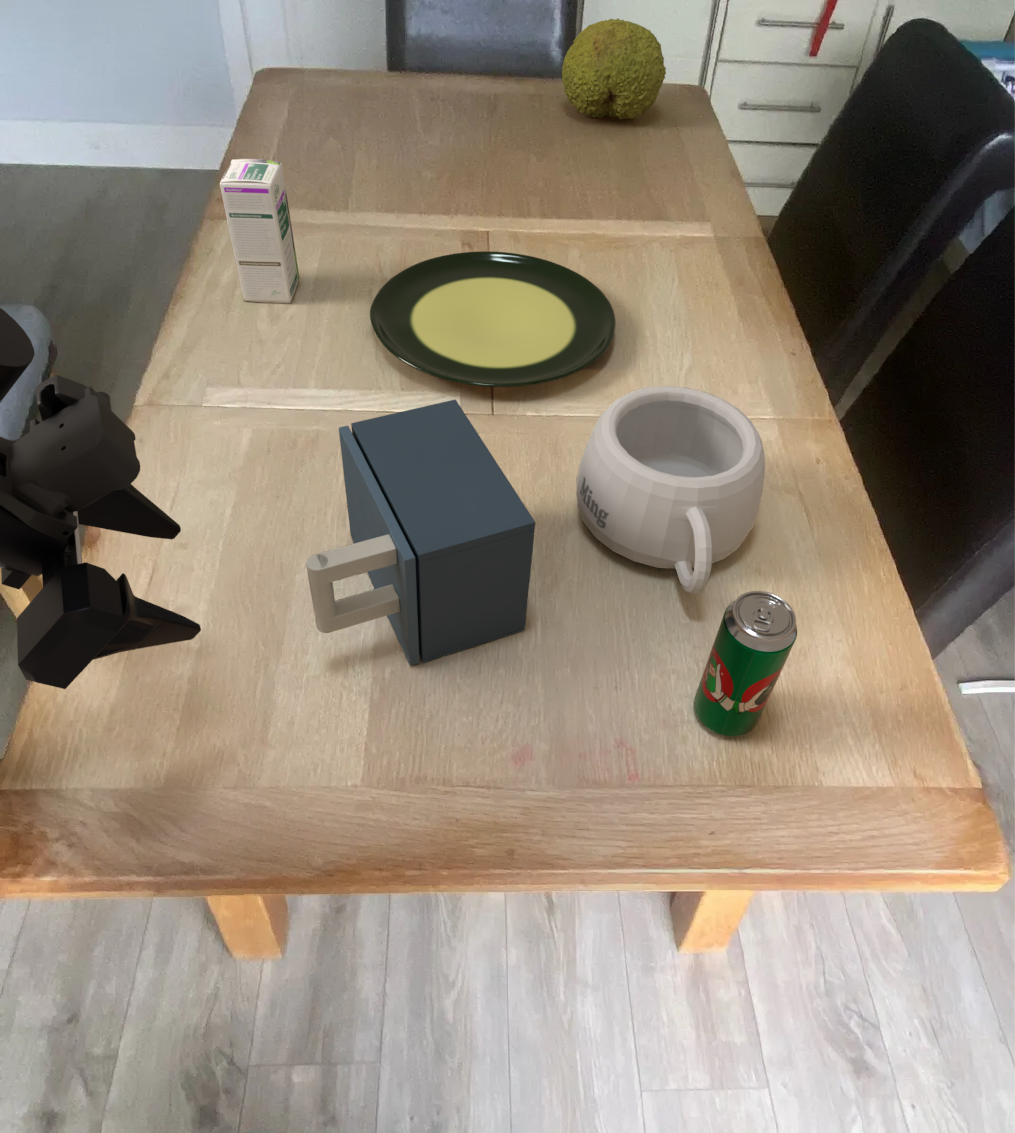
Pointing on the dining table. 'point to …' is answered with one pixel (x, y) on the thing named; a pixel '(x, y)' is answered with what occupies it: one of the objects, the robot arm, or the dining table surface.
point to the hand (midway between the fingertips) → (186, 580)
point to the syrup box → (260, 230)
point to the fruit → (613, 70)
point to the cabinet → (453, 525)
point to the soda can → (745, 662)
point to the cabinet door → (367, 561)
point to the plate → (493, 319)
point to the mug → (672, 480)
